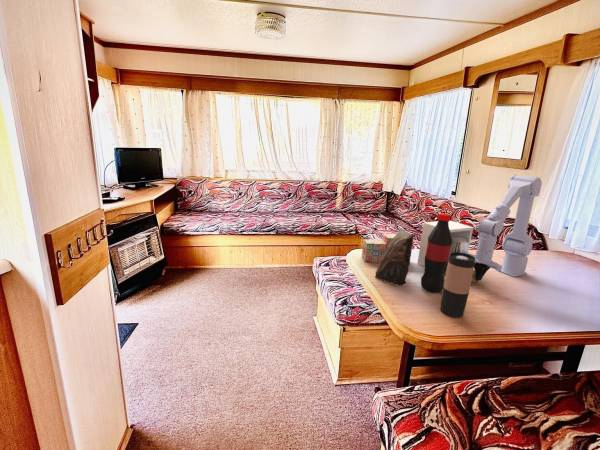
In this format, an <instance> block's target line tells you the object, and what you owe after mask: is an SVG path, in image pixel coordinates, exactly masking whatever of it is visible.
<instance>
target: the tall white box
mask: <svg viewBox="0 0 600 450" xmlns="http://www.w3.org/2000/svg"><path fill="white" fill-rule="evenodd" d="M437 223H438V220H437V221H436V220H435V221H428V222H423V226H422V230H421V231H422V232H421V238H420V245H419V251H418V258H417V264H418V265H420V266H422V267H424V268H425V255H426V249H427V243H428V237H429V235H430V233H431V232H432V230H433V229H434V228H435V226H436V225H437ZM448 224H449V229H450V232H451V236H452V240H453V238H463V239H466V240H469V241H470V243H469V247H470V245H471V241H472V236H473V231H474V227H472V226H470V225H468V224H463V223H460V222H457V221H454V220H453V221H452V220H450V222H448Z"/></svg>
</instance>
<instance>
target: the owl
mask: <svg viewBox="0 0 600 450" xmlns="http://www.w3.org/2000/svg"><path fill="white" fill-rule="evenodd" d="M414 238H415V236H414V235H413V234H411V233H410V232H407V231H406V229H404V228H401V229H399V230H398V232H397V233H396V235H395V236H394V237H393V239H392V240H391V241H390V242H389V244H388V246H387V249H386V250H385V252H384V254H383V256H382V258H381V260H380V262H378V265H377V268H376V271H375V276H374V278H375V277H376V279H379V280H382V281H384V280H385V282H387V281H388V283H390V282H392V283H391V284H394V285H396V284H397V285H396V286H404V285H406V283H407V281H406V279H407V276H408V274H409V269H410V268H409V267H410V265H411V256H412V251H411V247H412V248H413V246H412V245H414ZM412 240H413V241H412ZM409 259H410V260H409ZM403 284H404V285H403Z"/></svg>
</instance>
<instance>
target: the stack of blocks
mask: <svg viewBox="0 0 600 450" xmlns="http://www.w3.org/2000/svg"><path fill="white" fill-rule="evenodd" d="M396 234H397V233H396ZM396 234H395V233H393V234H392V233H383V234H382V239H365V238H364V239H363V243H362V249H361V250H362V251H361V258H362V259H363V261H364V262H365V263H379V262H380V260H381V258H382V256H383V254H384V252H385V250H386V249H387V246H388V244H389V242H390V241H391V240H392V239H393V237H394V236H395V235H396ZM412 241H413V242H414V239H413V240H412ZM413 245H414V244H413ZM413 245H412V247H411V252H412V251H413ZM409 260H410V261H411V258H410V259H409Z"/></svg>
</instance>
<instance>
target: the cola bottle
mask: <svg viewBox="0 0 600 450" xmlns="http://www.w3.org/2000/svg"><path fill="white" fill-rule="evenodd" d="M437 221H438V223H437V225H436V226H435V228H434V229H433V230H432V232H431V233H430V235H429V237H428V243H427V249H426V255H425V267H424V272H423V274H422V275H421V278H420V286H421V289H423V290H424V291H426V292H428V293H432V294H438V293H440V292H443V286H444V281H445V275H446V274H445V271H446V269H447V266H448V260H449V255H450V251H451V246H452V242H453V241H452V236H451V232H450V229H449V224H448V222H450V221H451V214H448V213H444V212H442V213H441V212H439V213H438V216H437Z"/></svg>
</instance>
